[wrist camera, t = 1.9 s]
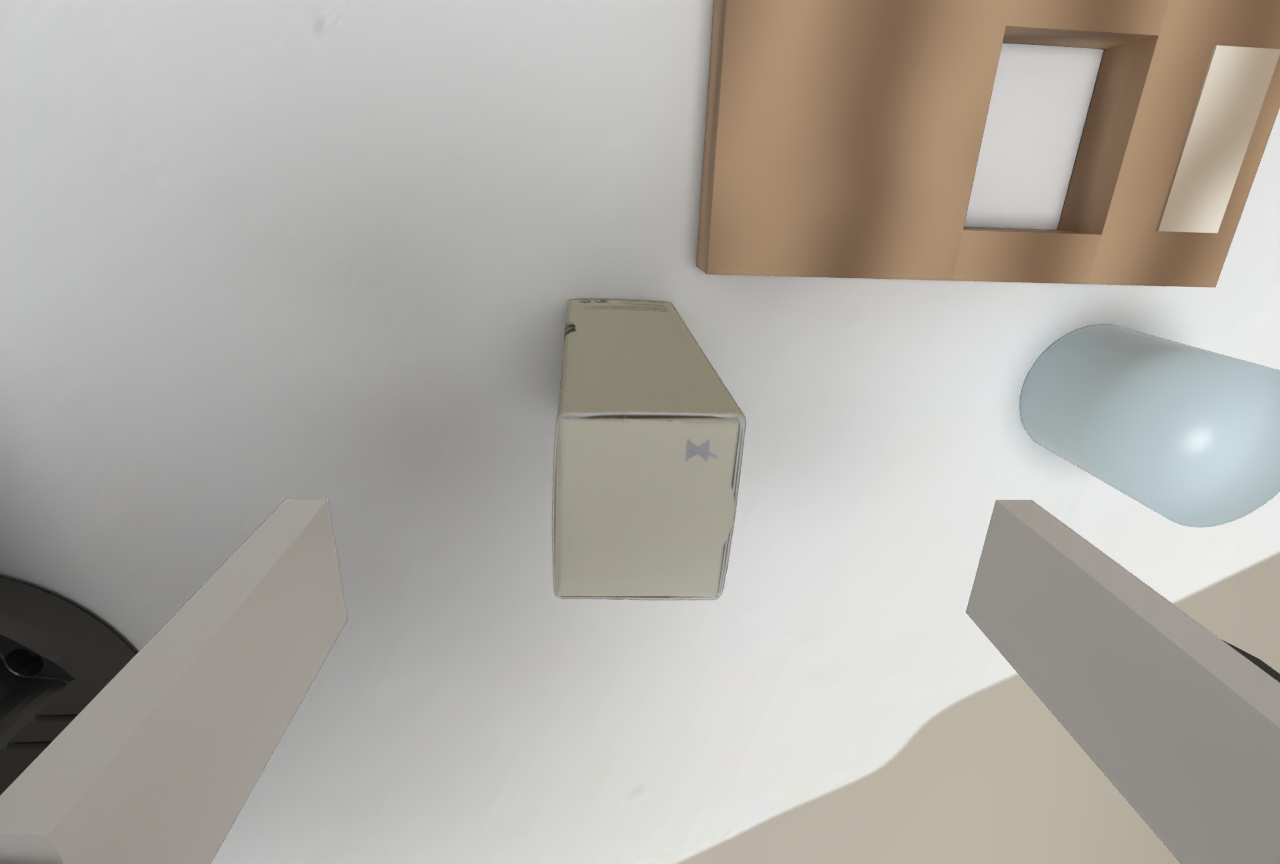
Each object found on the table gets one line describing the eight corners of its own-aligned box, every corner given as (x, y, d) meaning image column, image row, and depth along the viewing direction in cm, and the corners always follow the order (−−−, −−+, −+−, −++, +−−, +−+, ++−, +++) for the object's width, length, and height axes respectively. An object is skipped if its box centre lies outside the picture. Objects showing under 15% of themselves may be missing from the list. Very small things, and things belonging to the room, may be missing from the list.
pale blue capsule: (1005, 452, 30) (1124, 528, 23) (1039, 323, 27) (1181, 367, 21) (1126, 451, 30) (1275, 526, 24) (1168, 325, 28) (1345, 369, 22)
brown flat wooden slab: (696, 265, 25) (707, 274, 23) (716, -37, 22) (732, -63, 19) (1163, 278, 27) (1217, 287, 25) (1254, 0, 24) (1327, -19, 21)
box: (566, 295, 25) (549, 398, 14) (675, 300, 26) (753, 404, 14) (563, 420, 27) (547, 607, 15) (666, 423, 28) (727, 607, 16)
